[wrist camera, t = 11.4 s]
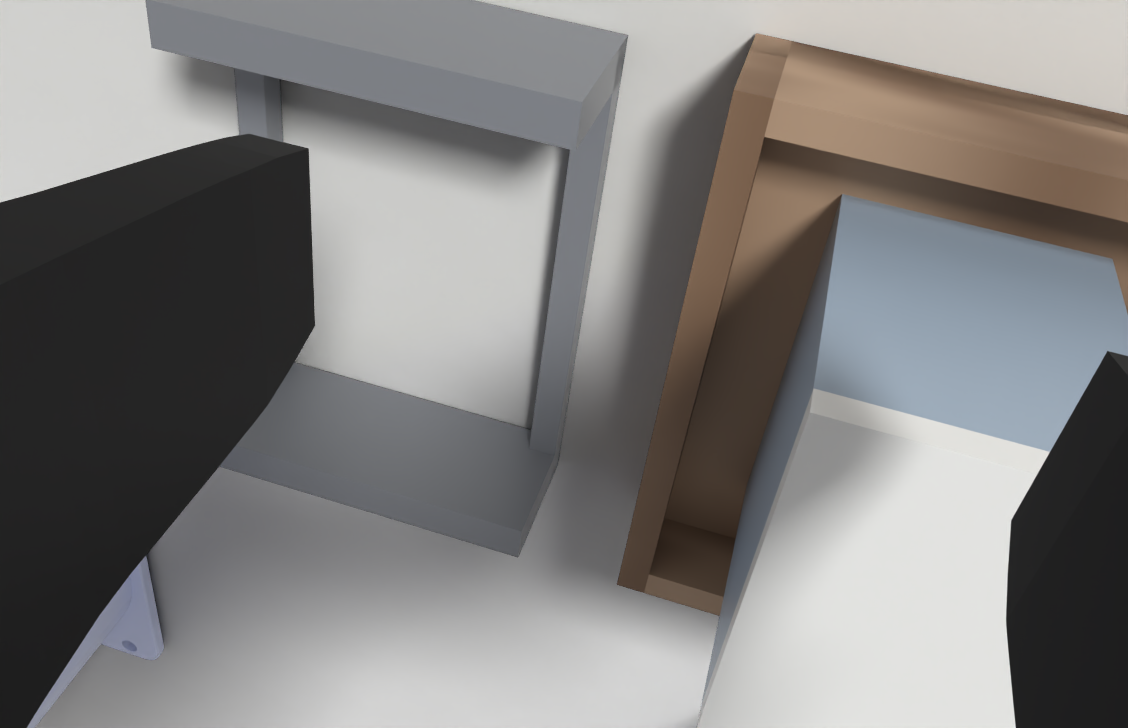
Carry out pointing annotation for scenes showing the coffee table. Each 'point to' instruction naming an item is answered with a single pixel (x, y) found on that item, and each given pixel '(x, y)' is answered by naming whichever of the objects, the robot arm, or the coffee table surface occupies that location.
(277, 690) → the coffee table surface
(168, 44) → the bay
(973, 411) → the light grey block
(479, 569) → the coffee table surface
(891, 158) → the tray
